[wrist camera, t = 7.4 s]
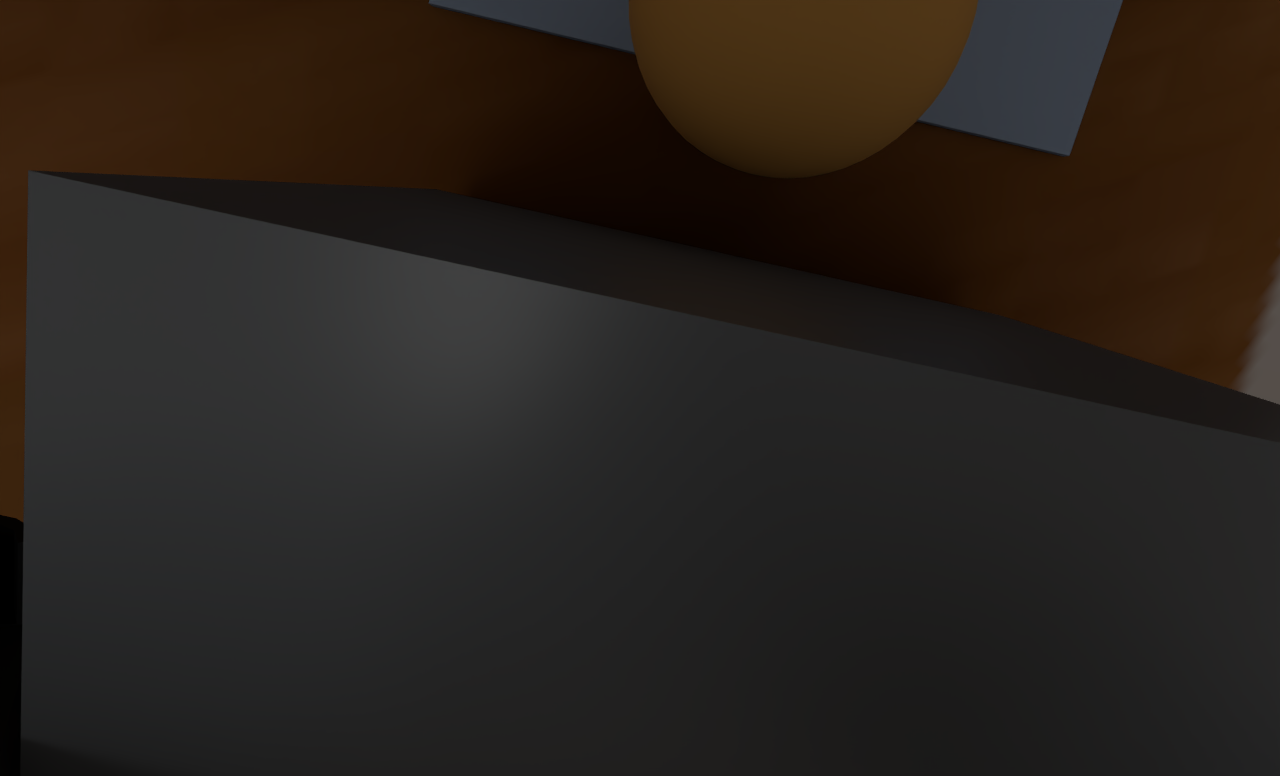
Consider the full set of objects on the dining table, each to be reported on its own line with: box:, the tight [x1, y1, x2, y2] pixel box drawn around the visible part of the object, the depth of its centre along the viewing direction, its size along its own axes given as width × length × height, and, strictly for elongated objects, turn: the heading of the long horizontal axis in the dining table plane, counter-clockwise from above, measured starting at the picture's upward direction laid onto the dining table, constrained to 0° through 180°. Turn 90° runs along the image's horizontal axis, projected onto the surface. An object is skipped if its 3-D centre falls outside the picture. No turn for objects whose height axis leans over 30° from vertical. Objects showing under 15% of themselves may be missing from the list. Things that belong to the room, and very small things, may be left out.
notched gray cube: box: [20, 170, 1280, 776], centre depth 10 cm, size 10×10×9 cm
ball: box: [629, 0, 978, 179], centre depth 11 cm, size 5×5×5 cm
